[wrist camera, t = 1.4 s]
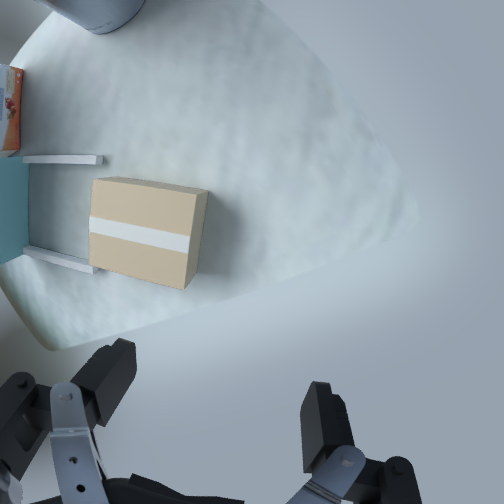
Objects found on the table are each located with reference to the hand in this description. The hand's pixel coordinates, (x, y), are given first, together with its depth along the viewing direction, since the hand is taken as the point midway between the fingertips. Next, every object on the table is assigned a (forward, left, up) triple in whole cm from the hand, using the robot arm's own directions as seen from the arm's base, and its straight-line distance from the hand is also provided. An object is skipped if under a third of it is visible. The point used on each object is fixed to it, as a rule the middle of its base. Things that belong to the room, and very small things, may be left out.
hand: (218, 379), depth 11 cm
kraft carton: (-2, -11, -19) cm, 22 cm away
